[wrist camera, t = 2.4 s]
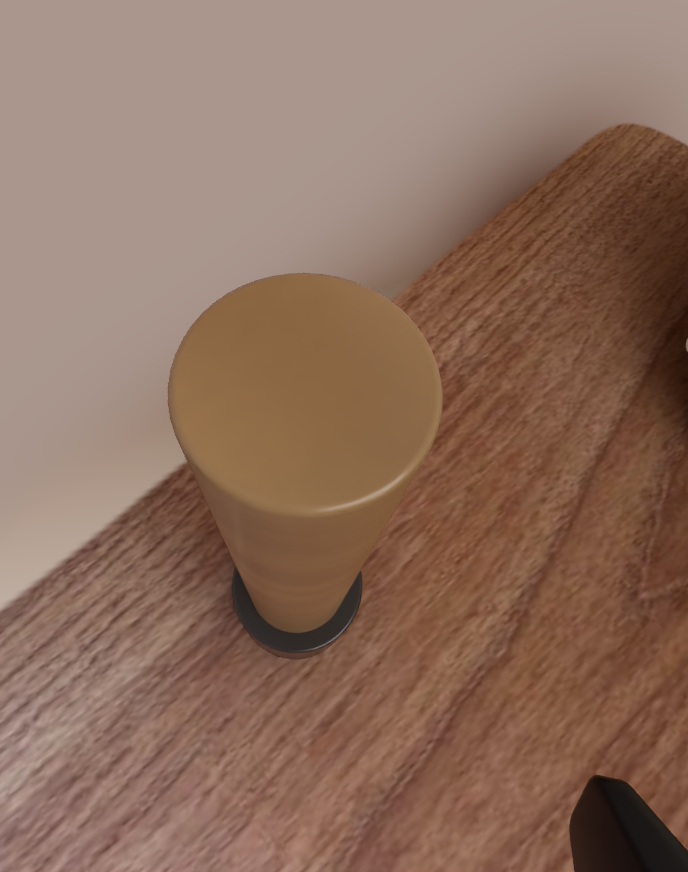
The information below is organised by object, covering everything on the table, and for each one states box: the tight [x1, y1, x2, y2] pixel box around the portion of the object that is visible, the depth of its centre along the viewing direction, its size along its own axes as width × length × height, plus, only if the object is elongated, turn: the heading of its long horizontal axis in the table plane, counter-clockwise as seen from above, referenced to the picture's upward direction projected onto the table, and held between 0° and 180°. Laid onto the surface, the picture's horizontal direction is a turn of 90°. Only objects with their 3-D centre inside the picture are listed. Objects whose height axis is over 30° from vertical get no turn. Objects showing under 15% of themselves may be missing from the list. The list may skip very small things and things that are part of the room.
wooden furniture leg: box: [168, 273, 443, 659], centre depth 12 cm, size 4×4×15 cm
